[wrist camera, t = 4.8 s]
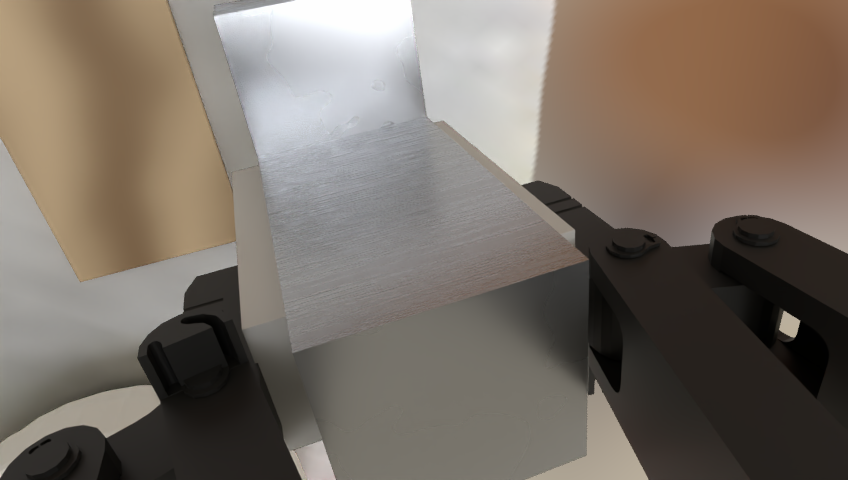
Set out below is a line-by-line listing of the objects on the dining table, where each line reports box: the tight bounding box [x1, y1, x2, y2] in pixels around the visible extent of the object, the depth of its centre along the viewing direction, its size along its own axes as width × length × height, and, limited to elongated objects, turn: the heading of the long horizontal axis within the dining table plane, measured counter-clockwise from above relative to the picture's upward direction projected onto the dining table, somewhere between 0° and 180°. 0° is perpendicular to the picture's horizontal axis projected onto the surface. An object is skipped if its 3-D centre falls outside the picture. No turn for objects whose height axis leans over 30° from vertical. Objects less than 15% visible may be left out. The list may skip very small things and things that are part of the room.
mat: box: [0, 0, 236, 282], centre depth 25 cm, size 8×14×1 cm, turn 8°
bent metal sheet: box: [214, 0, 589, 480], centre depth 12 cm, size 4×10×9 cm, turn 8°
